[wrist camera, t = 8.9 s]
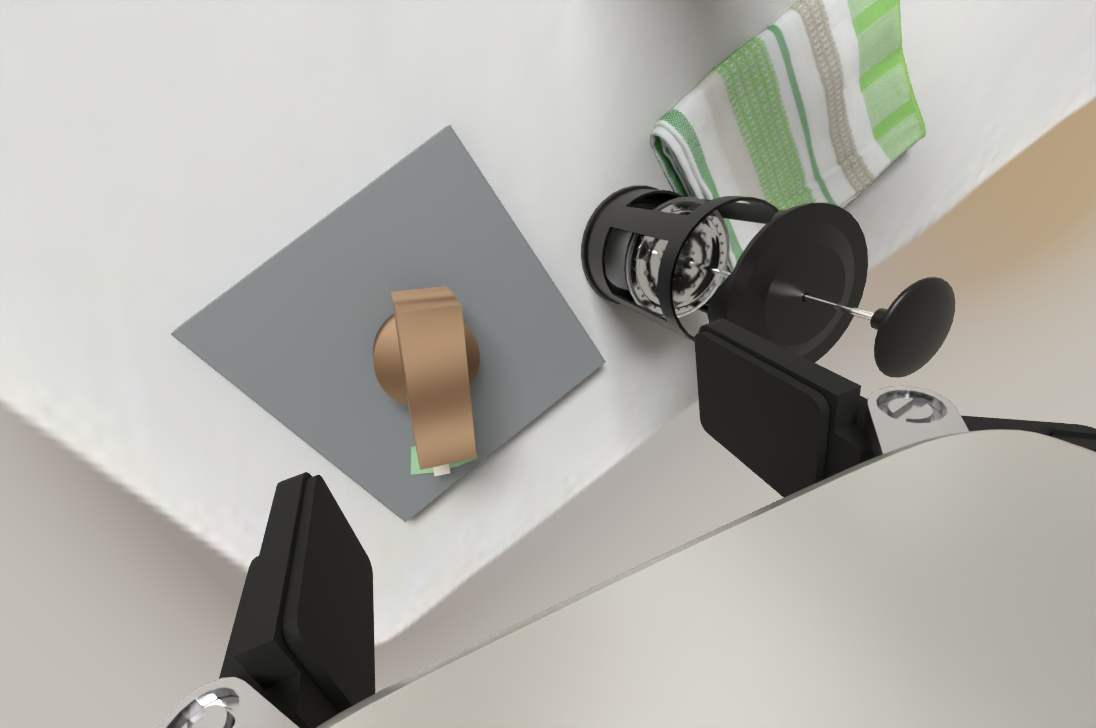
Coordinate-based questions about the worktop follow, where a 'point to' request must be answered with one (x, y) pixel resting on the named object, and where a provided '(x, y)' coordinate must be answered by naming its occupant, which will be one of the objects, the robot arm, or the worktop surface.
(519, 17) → the worktop surface
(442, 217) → the dial plate
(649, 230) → the french press
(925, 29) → the worktop surface
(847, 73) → the dish towel
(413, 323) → the knob
